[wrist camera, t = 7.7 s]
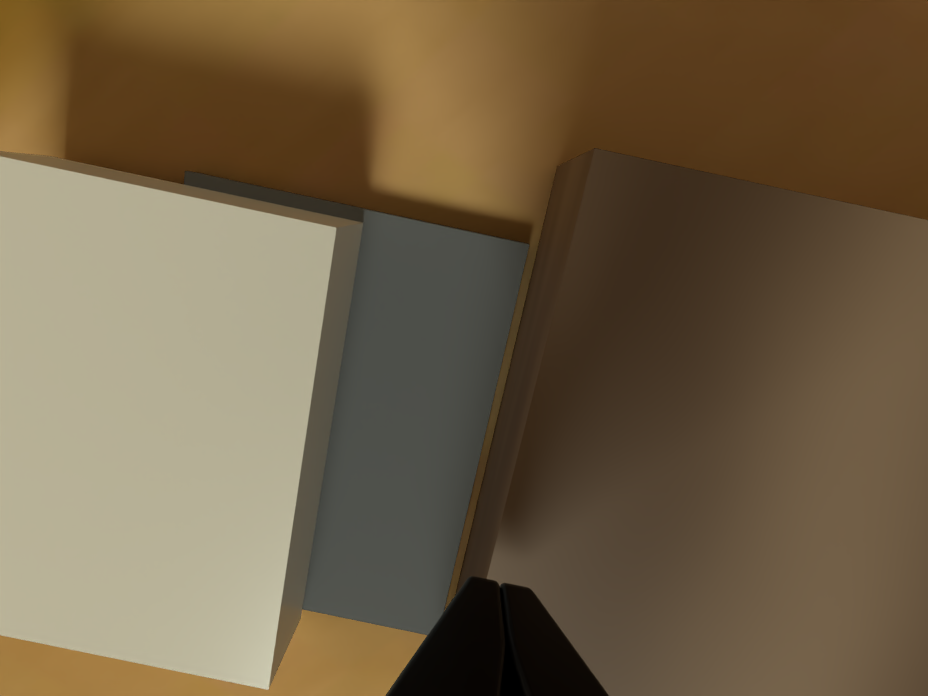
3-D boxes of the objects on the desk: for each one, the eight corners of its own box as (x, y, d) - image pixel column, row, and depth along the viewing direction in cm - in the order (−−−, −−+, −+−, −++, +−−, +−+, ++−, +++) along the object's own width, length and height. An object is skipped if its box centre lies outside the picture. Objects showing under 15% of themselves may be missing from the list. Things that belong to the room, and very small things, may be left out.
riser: (1380, 343, 11) (1860, 421, 7) (1082, 814, 14) (1308, 1048, 10) (557, 166, 11) (595, 148, 7) (435, 681, 14) (414, 867, 10)
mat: (528, 243, 11) (529, 245, 11) (439, 628, 14) (437, 637, 13) (193, 171, 11) (185, 171, 11) (159, 570, 13) (152, 577, 13)
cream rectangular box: (-45, 146, 9) (50, 156, 11) (-37, 627, 11) (41, 564, 13) (336, 227, 9) (363, 223, 11) (268, 689, 11) (300, 618, 13)
